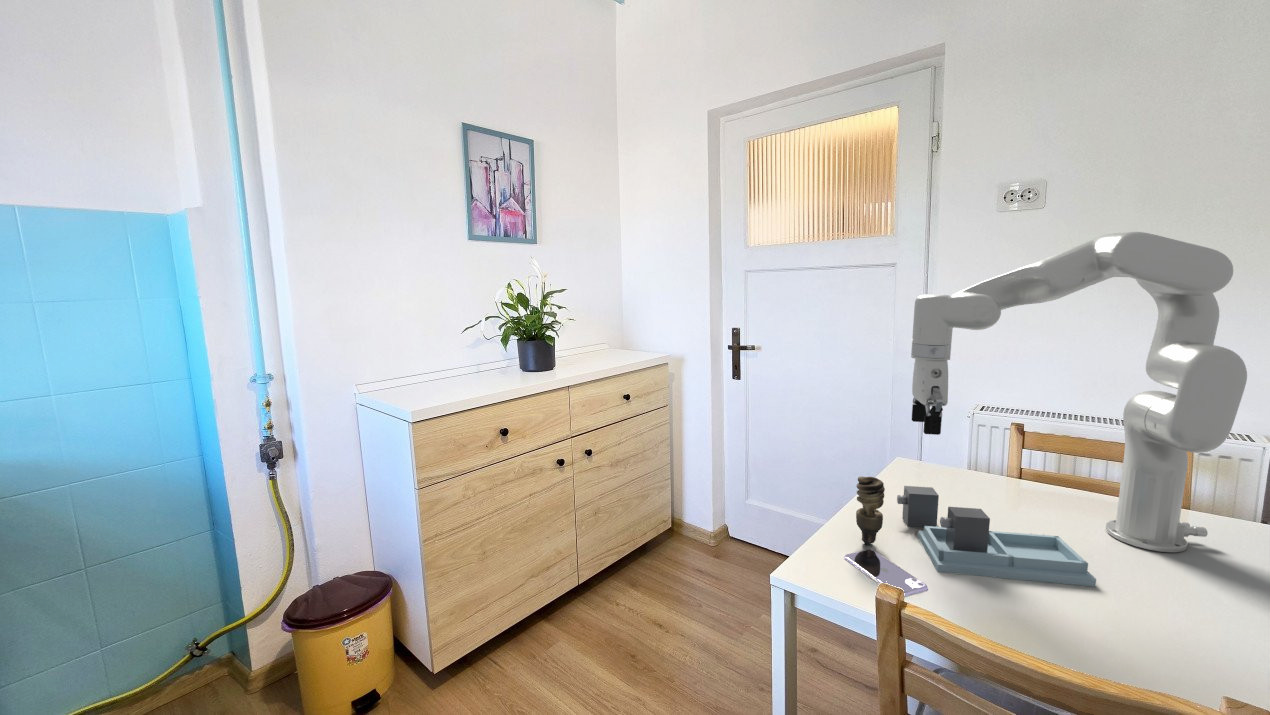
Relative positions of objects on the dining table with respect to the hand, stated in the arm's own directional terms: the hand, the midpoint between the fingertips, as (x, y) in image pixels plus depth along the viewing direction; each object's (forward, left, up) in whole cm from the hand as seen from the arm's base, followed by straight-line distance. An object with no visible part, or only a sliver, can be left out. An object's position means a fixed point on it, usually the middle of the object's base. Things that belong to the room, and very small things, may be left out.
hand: (925, 427), depth 120 cm
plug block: (0, 0, -23) cm, 23 cm away
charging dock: (-11, +14, -23) cm, 29 cm away
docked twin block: (-4, +14, -21) cm, 26 cm away
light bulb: (+13, +12, -23) cm, 29 cm away
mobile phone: (+12, +23, -23) cm, 35 cm away
